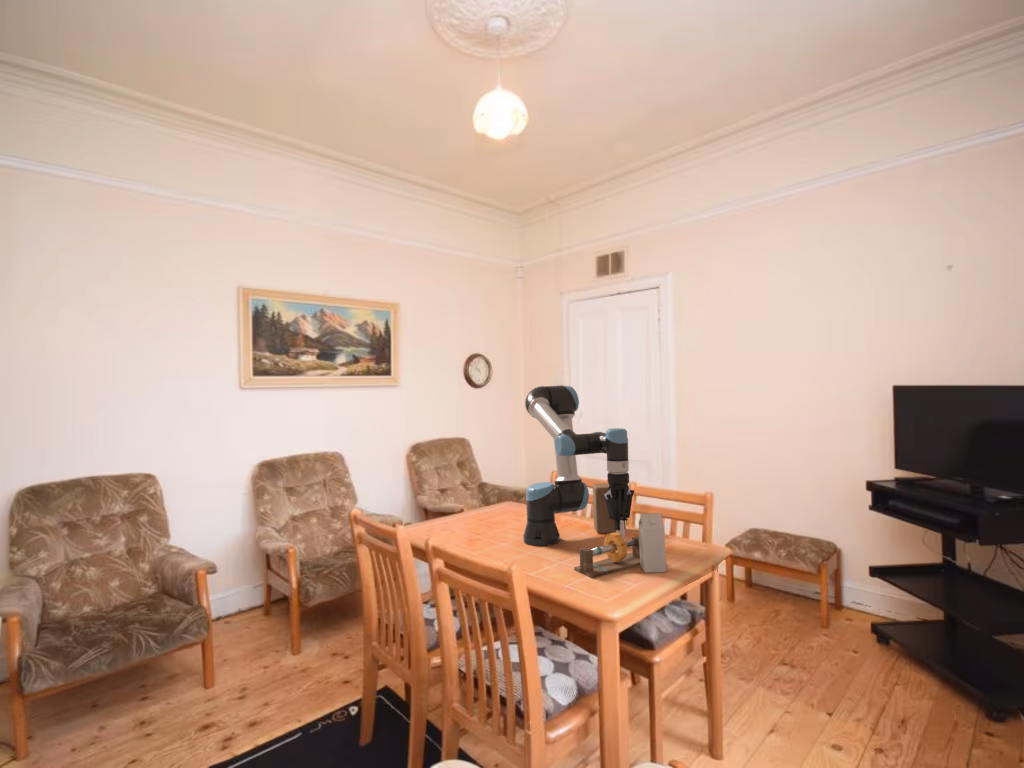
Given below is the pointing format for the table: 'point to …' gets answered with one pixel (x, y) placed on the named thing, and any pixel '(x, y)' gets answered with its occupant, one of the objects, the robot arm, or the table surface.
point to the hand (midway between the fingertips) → (620, 538)
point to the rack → (607, 562)
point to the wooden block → (601, 510)
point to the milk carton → (652, 543)
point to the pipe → (612, 547)
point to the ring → (620, 546)
